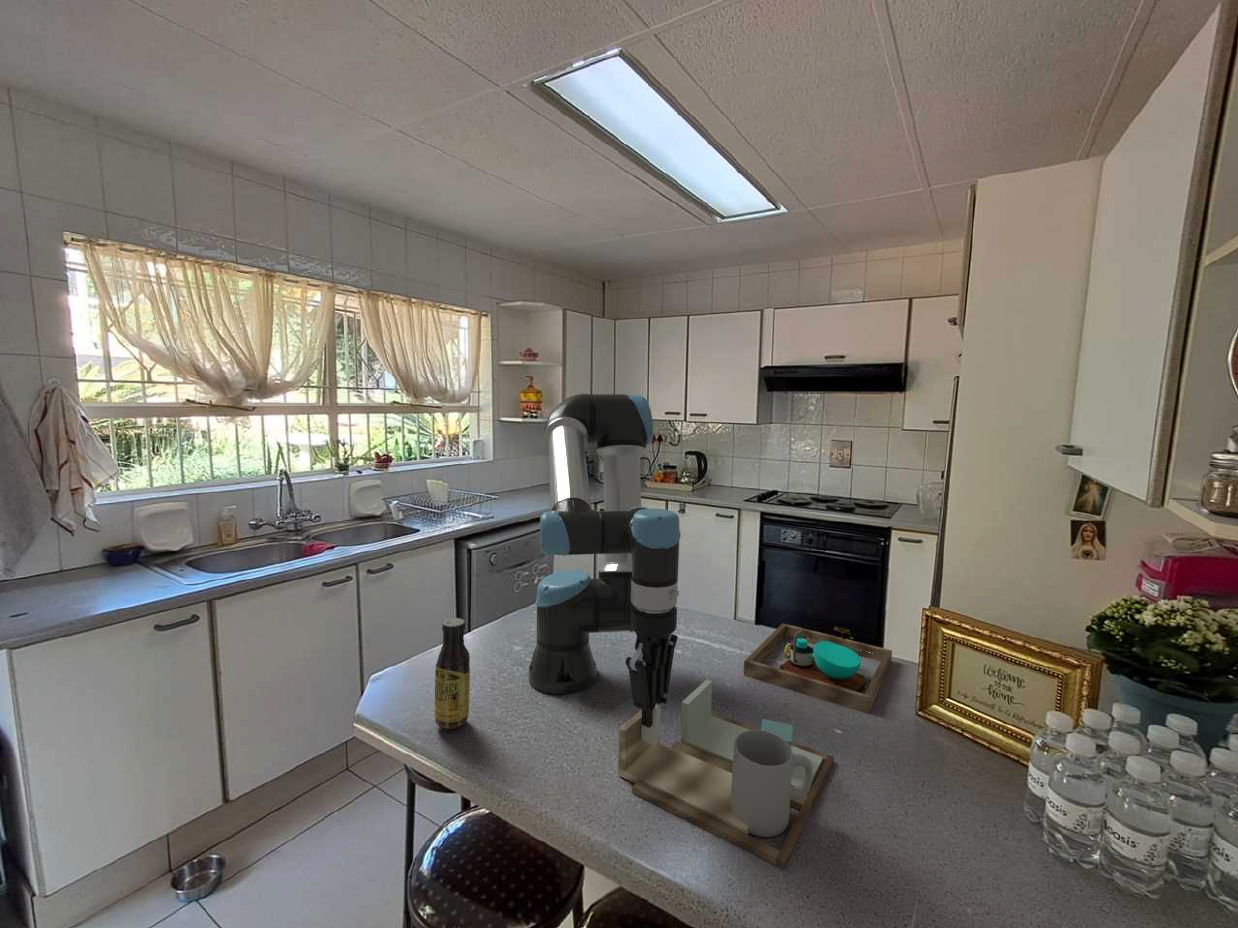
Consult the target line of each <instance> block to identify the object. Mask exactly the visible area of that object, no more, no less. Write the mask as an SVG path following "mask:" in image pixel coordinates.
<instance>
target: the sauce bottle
mask: <svg viewBox="0 0 1238 928" xmlns="http://www.w3.org/2000/svg"><path fill="white" fill-rule="evenodd" d="M441 624H442V627H441V629H442V632H443V633H442V646H441V649H440V652H439V654H438V658H437V661H436V665H435V670H434V671H435V676H434V677H435V678H434V680H435V681H434V684H435V685H434V718H435V723H436V725H437V726H438V727H439V728H441V729H448V730H449V729H457V728H459V727H461V726H463V725H465V724H466V722H467V721H468V719H469V713H470V690H471V689H470V688H471V687H470V686H471V685H470V683H471V682H470V680H471V677H470V676H471V668H470V659H471V658H470V657H471V656H470V652H469V650H468V649H467V648H466V645H465V637H464V635H465V634H464V633H465V632H464V631H465V629H466V621H465V620H464V619H463V618H459V617H451V618H447V619H444V621H443V622H442V623H441Z"/></svg>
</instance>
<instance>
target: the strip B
mask: <svg viewBox="0 0 1238 928" xmlns="http://www.w3.org/2000/svg"><path fill="white" fill-rule="evenodd" d="M712 703H713V680H710V679H709V678H708V679H705V680H704V681H703V682H702V683H701V684H700V685H698V687H697V688H695V689H694V691H692V692H691V693H690V694H689V695H688V696H687V697H685V698H684V700H682V702H681V721H680V723H681V726H680V742H681V743H684V744H686V745H689V746H691V747H693V748H696V749H698V750H701V751H703V752H705V753H708V754H710V755H713V756H715V757H717V758H720V759H722V760H725V761H727V762H729V763H732V764H733V751H734V741H735V739H736V737H737V736H738V735H739V734H741V733H743V732H745V731H749V730H748V729H746V728H743V727H740V726H737V725H735V724H732V723H729V722H727V721H724V720H721V719H719V718H716V717H713V716H711V712H712ZM791 749H792V751H793V754H801V755H804V756H806V757H807V758H808V759H809V760H810V763H811V765H812V772H813V778H812V784H811V787H812V786H813V784H814V782H815V780H816V778H817V776H818V774H819V772H820V770H821V768H822V766H823V764H822V763H823V757H821V756H818V755H815V754H813V753H810V752H807V751H805V750H802V749H799V748H797V747H794V746H791ZM804 777H805V768H804V766H796V767H793V770H792V780H791V787H796V786H799V785H801V784H802V782H803V780H804Z"/></svg>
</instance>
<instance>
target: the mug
mask: <svg viewBox="0 0 1238 928" xmlns="http://www.w3.org/2000/svg"><path fill="white" fill-rule="evenodd" d="M796 766H804V768H805V777H804V780H803V782H802V784H801V785H799V786H796V787H791V780H792V770H793V767H796ZM812 778H813V772H812V765H811V763H810V760H809V759H808V758H807V757H806V756H804V755H801V754H793V751H792V749H791V747H790V745H789V744H788V743H787V742H786V741H785V740H784V739H783V738H781V737H779V736H778V735H776V734H773V733H770V732H767V731H762V730H761V729H759V730H749V731H745V732H743V733H741V734H739V735H738V736H737V737H736V739H735V741H734V751H733V768H732V785H731V798H730V807H731V810H732V812H733V813H734V815H735V816H736V817H737V818H738V819H739V820H740V821H741V822H743V823H744V824H746V825H748V826H749V835H750V834H751V835H753V836H757V837H760V838H761V837H762V838H772V837H776V836H779V835H781V834H782V833H783V832H785V831H786V829H787V827H788V825H789V821H790V807H791V806H790V799H798V798H802V797H804V796H806V795H808V794H809V792H810V790H811V788H812V786H811V784H812ZM812 785H813V784H812Z"/></svg>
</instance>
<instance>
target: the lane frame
mask: <svg viewBox="0 0 1238 928" xmlns="http://www.w3.org/2000/svg"><path fill="white" fill-rule="evenodd" d="M711 716H713V717H716V718H719V719H721V720H724V721H727V722H729V723H732V724H735V725H737V726H740V727H743V728H746V729H748V730H760V729H759V728H756V727H753V726H750V725H747V724H745V723H743V722H739V721H737V720H735V719H732V718H728V717H726V716H723V715H721V714H717V713H716V712H713V711H711ZM791 746H794V747H797V748H799V749H802V750H805V751H807V752H810V753H813V754H815V755H818V756H821V757H823V763H822V766H821V768H820V770H819V772H818V774H817V776H816V778H815V780H814V782H813V784H812V786H811V788H810V790H809V792H808V794H807V795H806V796H804V797H802V798H798V799H790V807H793V808H795V809H797V810H799V812H798V814H797V816H796V818H795V820H794V822H793V824H792V825H791V828H790V830H789V832H788V833H787V836H786V838H785V839H784V842H783V844H782V846H781V848H780V850H779V849H777V848H775V847H773V846H771V845H769V844H766V843H764V842H762V841H760V840H759V839H756V838H755V837H753V836H750V835H749V834H748V835H746V834H744V833H742V832H740V831H738V830H736V829H734V828H732V827H730V826H728V825H726V824H724V823H722V822H720V821H718V820H716V819H714V818H711V817H709V816H707V815H705V814H703V813H701V812H699V811H697V810H695V809H693V808H691V807H689V806H687V805H685V804H683V803H681V802H679V801H677V800H675V799H672V798H670V797H668V796H666V795H664V794H662V793H660V792H658V791H656V790H654V789H652V788H650V787H648V786H646V785H644V784H642V783H640V782H638V781H637V782H636V783H633V785H632V786H631V793H632V794H634V795H636V796H638V797H640V798H642V799H643V800H646V801H648V802H650V803H651V804H654V805H655V806H658V807H660V808H661V809H663V810H666V811H668V812H670V813H671V814H674V815H676V816H678V817H679V818H682V819H683V820H685V821H688V822H689V823H691V824H693V825H696V826H697V827H699V828H701V829H703V830H705V831H707V832H709V833H711V834H714V835H715V836H717V837H719V838H722V839H723V840H725V841H727V842H729V843H731V844H734V845H735V846H737V847H738V848H741V849H743V850H745V851H748V852H749V853H751V854H752V855H754V856H757V857H759V858H761V859H763V860H765V861H767V862H769V863H771V864H772V865H774V866H777V867H779V868H781V869H783V870H784V869H785V866H786V865H787V862H788V860H789V858H790V855H791V853H792V851H793V849H794V846H795V844H796V843H797V841H798V839H799V837H800V834H801V832H802V830H803V829H804V825H805V823H806V822H807V820H808V817H809V815H810V813H811V811H812V809H813V808H814V805H815V803H816V801H817V798H818V796H819V794H820V793H821V790H822V788H823V785H824V784H825V781H826V780H827V777H828V775H829V773H830V771H831V769H832V767H833V765H834V763H835V760H834V759H835V757H834V756H833V755H830V754H827V753H824V752H821V751H818V750H816V749H813V748H810V747H807V746H805V745H803V744H799V743H796V742H794V741H792V745H791ZM670 747H671V748H674V749H676V750H678V751H681V752H683V753H686V754H688V755H690V756H693V757H695V758H697V759H700V760H702V761H704V762H707V763H709V764H711V765H714V766H716V767H718V768H721V769H723V770H725V771H728V772H730V773H732V768H733V764H732V763H729V762H727V761H725V760H722V759H720V758H717V757H715V756H713V755H710V754H708V753H705V752H703V751H701V750H698V749H696V748H693V747H691V746H689V745H686V744H684V743H681V741H679V740H676V741H675V742H674V743H673V744H672V745H671V746H670Z"/></svg>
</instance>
